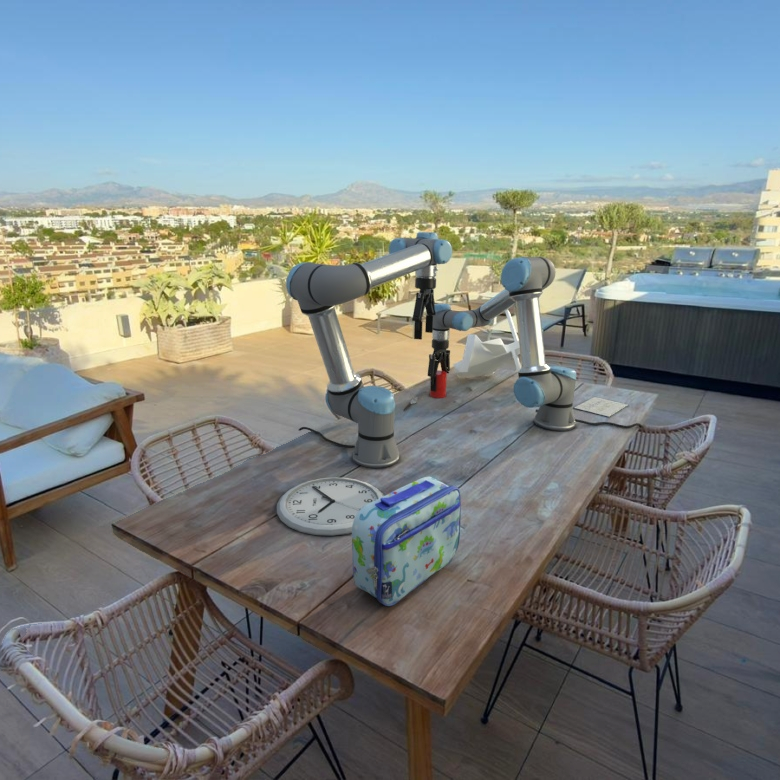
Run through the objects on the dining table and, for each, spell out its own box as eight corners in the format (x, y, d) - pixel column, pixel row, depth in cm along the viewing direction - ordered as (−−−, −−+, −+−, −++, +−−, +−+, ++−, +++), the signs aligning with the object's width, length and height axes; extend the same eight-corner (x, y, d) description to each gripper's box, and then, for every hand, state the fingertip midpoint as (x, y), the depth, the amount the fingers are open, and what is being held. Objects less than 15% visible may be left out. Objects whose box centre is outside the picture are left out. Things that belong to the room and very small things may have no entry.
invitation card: (608, 416, 214) (573, 407, 224) (608, 416, 214) (573, 408, 224) (628, 404, 229) (594, 396, 238) (628, 405, 229) (594, 397, 238)
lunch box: (381, 619, 101) (382, 525, 95) (345, 592, 109) (344, 503, 102) (464, 563, 119) (469, 480, 113) (428, 543, 126) (432, 464, 120)
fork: (400, 411, 216) (400, 406, 215) (412, 399, 230) (412, 395, 230) (406, 412, 215) (406, 407, 215) (418, 400, 230) (418, 396, 229)
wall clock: (392, 527, 129) (268, 531, 127) (391, 533, 130) (269, 537, 127) (383, 473, 158) (282, 475, 155) (383, 478, 158) (282, 480, 156)
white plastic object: (474, 420, 264) (452, 397, 239) (456, 347, 286) (434, 319, 261) (545, 396, 252) (530, 369, 227) (521, 322, 274) (504, 290, 249)
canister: (428, 397, 235) (429, 374, 232) (431, 392, 242) (432, 369, 239) (444, 398, 234) (445, 375, 230) (446, 393, 240) (447, 371, 237)
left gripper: (425, 280, 174) (423, 343, 181) (445, 275, 197) (442, 330, 203) (404, 279, 177) (402, 341, 183) (426, 274, 199) (423, 329, 205)
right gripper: (445, 334, 240) (443, 382, 247) (420, 341, 225) (418, 392, 232) (459, 337, 235) (456, 385, 242) (434, 344, 220) (432, 395, 227)
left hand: (423, 335), depth 193 cm, fingers open, 13 cm apart
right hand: (438, 388), depth 237 cm, fingers closed on canister, 7 cm apart
